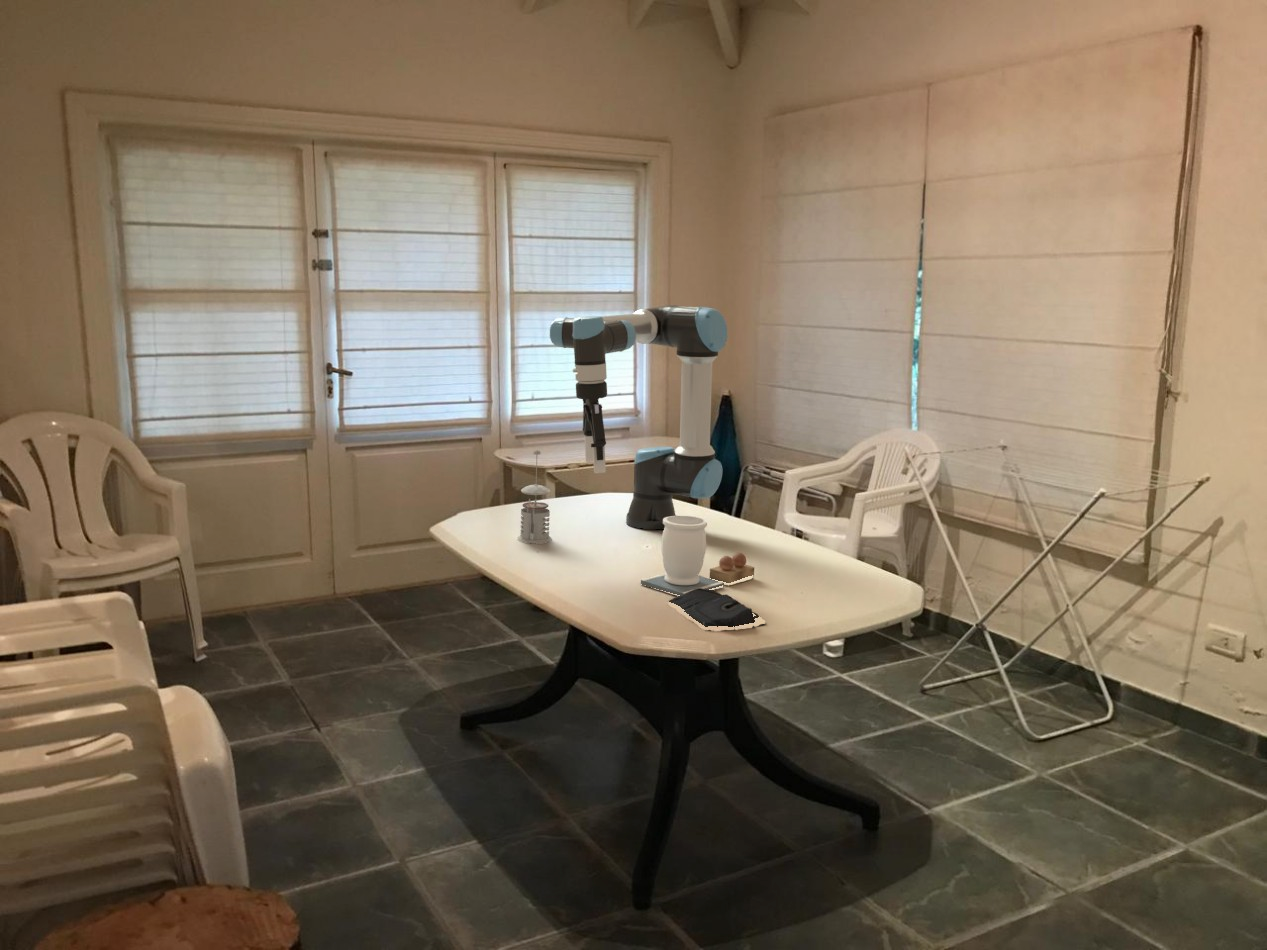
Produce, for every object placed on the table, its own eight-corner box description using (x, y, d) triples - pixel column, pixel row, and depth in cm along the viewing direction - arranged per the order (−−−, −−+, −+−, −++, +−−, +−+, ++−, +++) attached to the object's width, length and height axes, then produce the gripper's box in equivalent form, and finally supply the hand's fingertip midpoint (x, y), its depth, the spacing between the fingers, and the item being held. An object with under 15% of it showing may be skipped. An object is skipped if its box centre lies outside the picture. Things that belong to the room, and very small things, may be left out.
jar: (652, 582, 241) (655, 521, 238) (670, 572, 250) (673, 512, 247) (693, 590, 236) (697, 527, 234) (710, 579, 245) (714, 519, 243)
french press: (555, 536, 285) (558, 447, 280) (547, 546, 273) (550, 455, 269) (520, 533, 286) (522, 445, 281) (511, 544, 274) (513, 452, 270)
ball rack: (734, 573, 256) (736, 548, 255) (753, 578, 252) (755, 553, 251) (709, 580, 249) (710, 555, 248) (728, 586, 245) (730, 560, 244)
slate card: (679, 574, 253) (679, 569, 253) (723, 587, 243) (723, 582, 243) (640, 584, 243) (641, 579, 243) (685, 599, 233) (685, 593, 233)
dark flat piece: (720, 598, 237) (721, 578, 236) (771, 629, 218) (772, 607, 217) (661, 604, 231) (662, 584, 230) (708, 636, 211) (709, 614, 210)
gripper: (568, 376, 257) (573, 458, 262) (583, 389, 233) (588, 479, 238) (598, 374, 258) (602, 455, 263) (615, 387, 235) (619, 476, 239)
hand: (595, 467), depth 251 cm, fingers open, 13 cm apart
